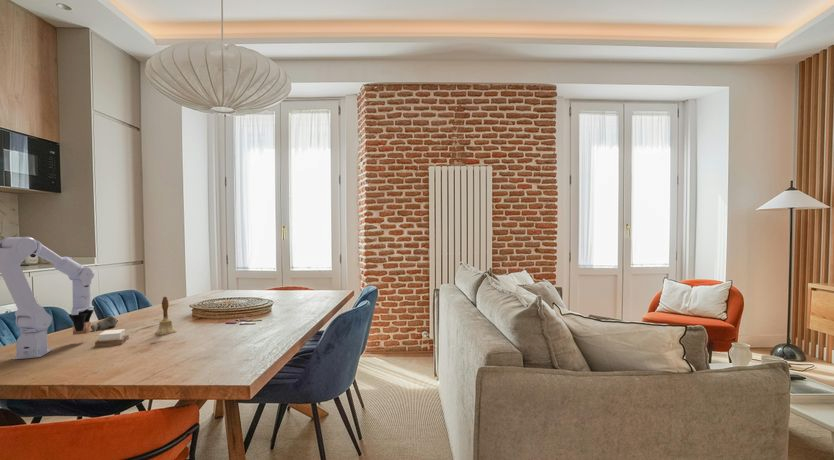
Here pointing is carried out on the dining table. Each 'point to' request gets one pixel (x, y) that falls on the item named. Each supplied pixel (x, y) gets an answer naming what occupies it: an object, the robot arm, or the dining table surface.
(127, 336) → the tower base
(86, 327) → the block
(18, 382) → the dining table surface
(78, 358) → the dining table surface
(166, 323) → the hand bell
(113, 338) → the white flat square slab
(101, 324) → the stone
